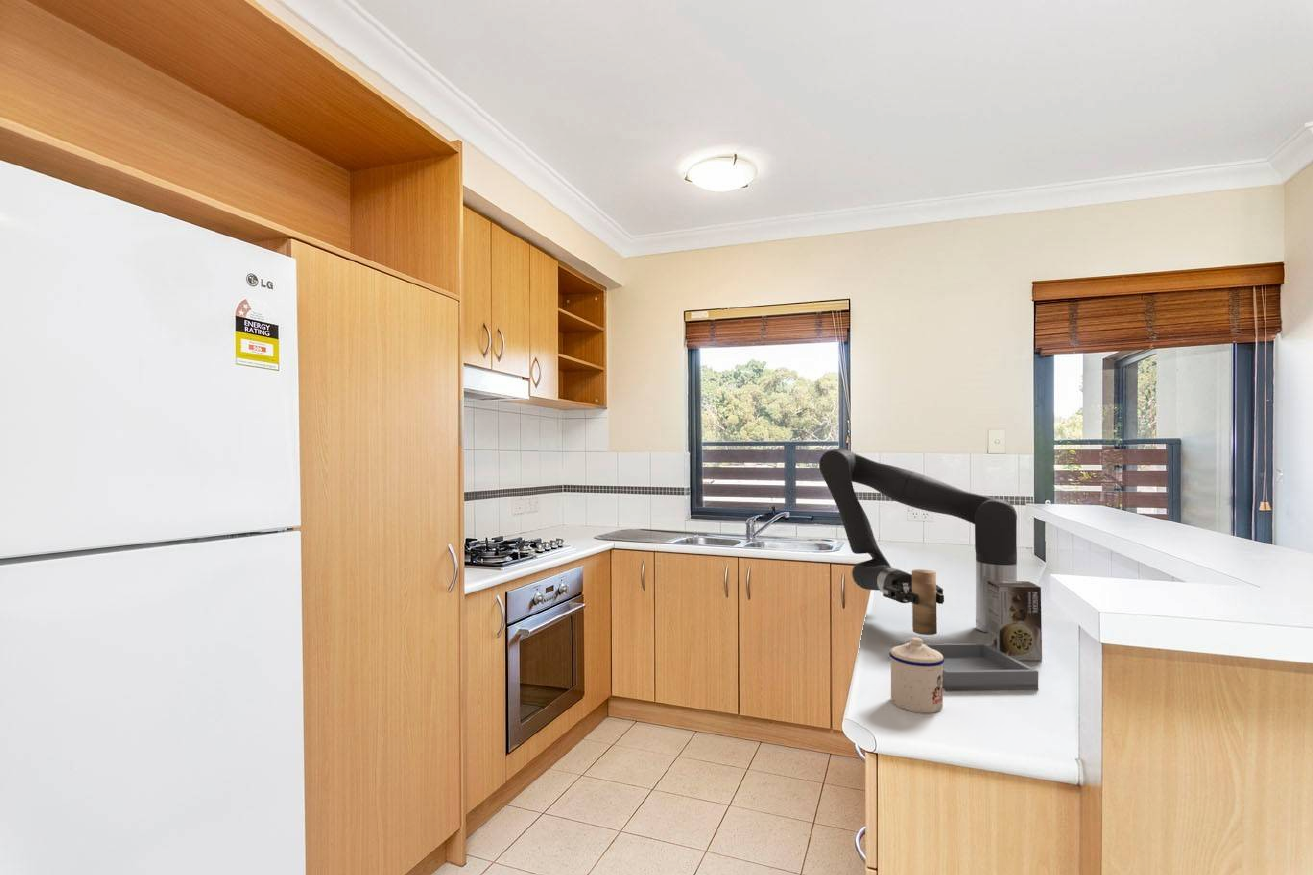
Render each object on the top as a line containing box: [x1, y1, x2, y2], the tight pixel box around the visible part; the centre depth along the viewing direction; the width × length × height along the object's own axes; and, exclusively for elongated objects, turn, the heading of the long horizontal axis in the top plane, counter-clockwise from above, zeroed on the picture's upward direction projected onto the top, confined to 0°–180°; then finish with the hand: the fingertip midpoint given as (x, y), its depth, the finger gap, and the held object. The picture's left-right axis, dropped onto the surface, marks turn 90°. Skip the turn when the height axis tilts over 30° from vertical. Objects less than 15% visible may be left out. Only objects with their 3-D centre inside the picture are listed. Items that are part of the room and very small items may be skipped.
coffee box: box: [987, 580, 1043, 662], centre depth 144 cm, size 9×6×16 cm
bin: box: [924, 642, 1039, 692], centre depth 132 cm, size 18×18×4 cm
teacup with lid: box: [889, 636, 944, 714], centre depth 117 cm, size 12×9×12 cm
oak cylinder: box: [911, 568, 938, 636], centre depth 151 cm, size 5×5×14 cm
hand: (929, 599), depth 148 cm, fingers closed on oak cylinder, 5 cm apart
